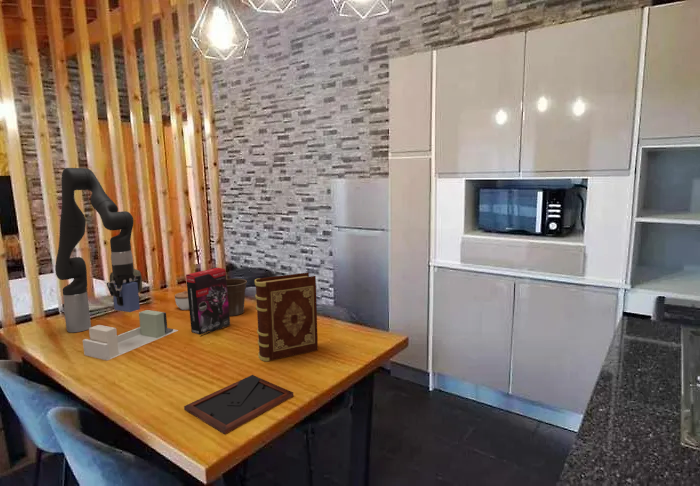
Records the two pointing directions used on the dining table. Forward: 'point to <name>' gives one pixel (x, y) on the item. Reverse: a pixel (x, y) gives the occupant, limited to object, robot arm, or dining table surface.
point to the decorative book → (286, 315)
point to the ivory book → (105, 337)
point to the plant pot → (236, 295)
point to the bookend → (166, 324)
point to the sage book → (152, 323)
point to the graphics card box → (208, 300)
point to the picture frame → (238, 403)
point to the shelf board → (125, 344)
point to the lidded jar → (182, 300)
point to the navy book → (128, 298)
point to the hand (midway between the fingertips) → (126, 303)
